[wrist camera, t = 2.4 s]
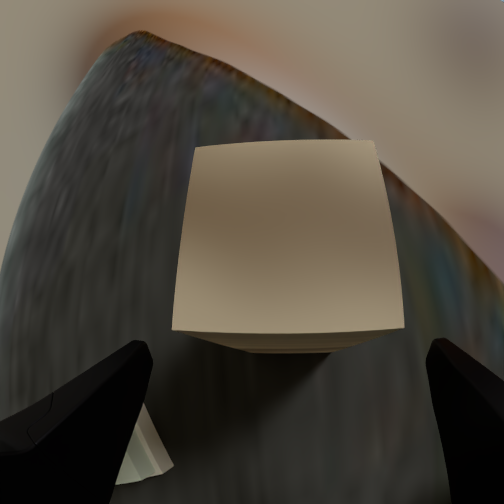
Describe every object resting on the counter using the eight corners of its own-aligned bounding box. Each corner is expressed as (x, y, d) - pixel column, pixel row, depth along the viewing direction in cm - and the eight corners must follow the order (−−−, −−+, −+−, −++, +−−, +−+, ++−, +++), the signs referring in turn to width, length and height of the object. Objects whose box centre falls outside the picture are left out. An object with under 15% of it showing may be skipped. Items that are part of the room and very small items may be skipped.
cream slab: (176, 463, 16) (162, 473, 14) (106, 478, 16) (89, 486, 14) (137, 377, 19) (119, 377, 17) (73, 402, 19) (54, 402, 16)
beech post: (331, 352, 18) (404, 327, 6) (252, 353, 18) (171, 329, 6) (329, 276, 19) (373, 140, 7) (254, 277, 20) (195, 147, 8)
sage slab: (155, 471, 14) (141, 480, 12) (92, 482, 14) (76, 489, 12) (118, 389, 16) (101, 390, 15) (61, 410, 16) (43, 411, 14)
